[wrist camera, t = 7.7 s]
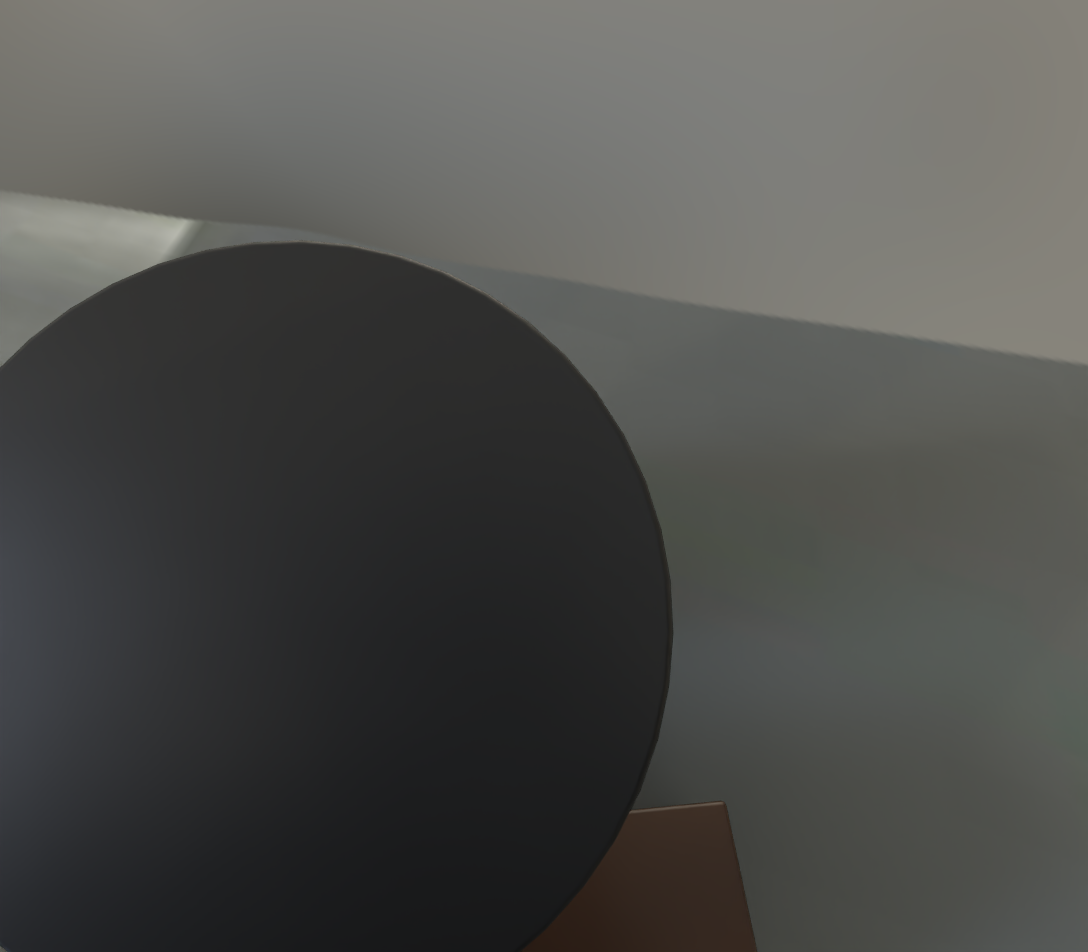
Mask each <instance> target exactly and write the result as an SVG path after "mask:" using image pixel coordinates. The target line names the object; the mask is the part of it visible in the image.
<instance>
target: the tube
mask: <svg viewBox="0 0 1088 952" xmlns="http://www.w3.org/2000/svg"><path fill="white" fill-rule="evenodd" d="M672 643H673V619H672V599H671V580H670V575H669V569H668V564H667V558H666V553H665V548H664V542H663V537H662V531H661V527H660V524H659V521H658V518H657V515H656V512H655V509H654V505H653V502H652V499H651V496H650V493H649V490H648V487H647V484H646V481H645V478H644V476H643V474H642V472H641V470H640V468H639V466H638V464H637V461H636V459H635V457H634V455H633V453H632V451H631V449H630V447H629V444H628V442H627V440H626V438H625V436H624V434H623V432H622V431H621V429H620V428H619V426H618V425H617V423H616V422H615V420H614V419H613V417H612V415H611V414H610V412H609V411H608V409H607V408H606V406H605V405H604V403H603V401H602V400H601V398H600V397H599V395H598V394H597V392H596V391H595V390H594V389H593V387H592V386H591V385H590V384H589V383H588V382H587V380H586V379H585V378H584V377H583V376H582V374H581V373H580V372H579V371H578V370H577V369H576V367H575V366H574V365H573V364H572V363H571V361H570V360H569V359H568V358H567V357H566V356H565V355H564V354H563V353H562V352H561V351H560V350H559V349H558V348H557V347H556V346H555V345H553V344H552V343H551V342H550V341H549V340H548V339H547V338H546V337H545V336H544V335H542V334H541V333H540V332H539V331H538V330H537V329H536V328H535V327H534V326H533V325H531V324H530V323H529V322H528V321H527V320H525V319H524V318H522V317H521V316H519V315H518V314H516V313H515V312H514V311H512V310H511V309H509V308H508V307H506V306H505V305H503V304H502V303H501V302H499V301H498V300H496V299H495V298H493V297H492V296H491V295H489V294H487V293H485V292H483V291H481V290H479V289H478V288H476V287H474V286H472V285H470V284H468V283H466V282H464V281H462V280H460V279H458V278H456V277H454V276H452V275H450V274H448V273H447V272H444V271H441V270H439V269H436V268H433V267H430V266H427V265H425V264H422V263H419V262H416V261H414V260H411V259H408V258H405V257H403V256H399V255H395V254H390V253H386V252H381V251H377V250H372V249H368V248H363V247H359V246H354V245H347V244H336V243H325V242H314V241H303V240H302V241H275V242H252V243H246V244H240V245H234V246H228V247H222V248H216V249H209V250H204V251H201V252H197V253H194V254H191V255H187V256H184V257H180V258H177V259H174V260H170V261H167V262H163V263H160V264H157V265H155V266H152V267H150V268H148V269H146V270H143V271H141V272H139V273H136V274H134V275H132V276H129V277H127V278H125V279H122V280H120V281H118V282H115V283H113V284H111V285H110V286H108V287H106V288H104V289H103V290H101V291H99V292H98V293H96V294H94V295H92V296H91V297H89V298H87V299H86V300H84V301H82V302H81V303H79V304H77V305H75V306H74V307H72V308H70V309H69V310H67V311H66V312H65V313H63V314H62V315H61V316H60V317H58V318H57V319H56V320H54V321H53V322H52V323H50V324H49V325H48V326H46V327H45V328H44V329H42V330H41V331H40V332H38V333H37V334H36V335H35V336H33V337H32V338H31V339H29V340H28V341H27V342H26V343H25V344H24V345H23V346H22V347H21V348H20V349H19V350H18V351H17V352H16V353H15V354H14V355H13V356H12V357H11V358H10V359H9V360H8V361H7V362H6V363H5V364H4V365H2V366H1V367H0V946H2V947H3V948H4V949H5V950H6V951H8V952H521V951H522V950H523V949H524V948H525V947H527V946H528V945H529V944H530V943H531V942H532V941H533V940H535V939H536V938H537V937H538V936H539V935H540V934H542V933H543V932H544V931H545V930H546V929H547V928H548V927H549V926H550V925H551V923H552V922H553V921H554V920H555V919H556V918H557V917H558V916H559V914H560V913H561V912H562V911H563V910H564V909H565V908H566V906H567V905H568V904H569V903H570V902H571V901H572V900H573V899H574V897H575V896H576V895H577V894H578V893H579V892H580V891H581V889H582V888H583V887H584V886H585V885H586V883H587V882H588V880H589V879H590V877H591V876H592V874H593V873H594V871H595V870H596V868H597V867H598V865H599V864H600V862H601V861H602V859H603V858H604V856H605V855H606V853H607V852H608V851H609V849H610V848H611V846H612V845H613V843H614V842H615V840H616V838H617V836H618V834H619V832H620V830H621V828H622V826H623V824H624V822H625V820H626V818H627V816H628V814H629V812H630V810H631V808H632V806H633V804H634V802H635V800H636V798H637V796H638V794H639V792H640V790H641V787H642V784H643V781H644V778H645V775H646V773H647V770H648V767H649V764H650V761H651V758H652V755H653V752H654V750H655V747H656V744H657V741H658V737H659V733H660V728H661V723H662V718H663V713H664V708H665V704H666V699H667V694H668V689H669V682H670V669H671V656H672Z"/></svg>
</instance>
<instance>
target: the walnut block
mask: <svg viewBox="0 0 1088 952" xmlns="http://www.w3.org/2000/svg"><path fill="white" fill-rule="evenodd" d="M521 952H757V948H756V943H755V938H754V934H753V929H752V924H751V919H750V915H749V910H748V905H747V901H746V896H745V891H744V886H743V882H742V877H741V872H740V868H739V863H738V858H737V853H736V849H735V844H734V839H733V834H732V830H731V825H730V820H729V816H728V811H727V806H726V804H725V802H723V801H714V802H704V803H694V804H684V805H674V806H664V807H654V808H644V809H634V810H630V812H629V814H628V816H627V818H626V820H625V822H624V824H623V826H622V828H621V830H620V832H619V834H618V836H617V838H616V840H615V842H614V843H613V845H612V846H611V848H610V849H609V851H608V852H607V853H606V855H605V856H604V858H603V859H602V861H601V862H600V864H599V865H598V867H597V868H596V870H595V871H594V873H593V874H592V876H591V877H590V879H589V880H588V882H587V883H586V885H585V886H584V887H583V888H582V889H581V891H580V892H579V893H578V894H577V895H576V896H575V897H574V899H573V900H572V901H571V902H570V903H569V904H568V905H567V906H566V908H565V909H564V910H563V911H562V912H561V913H560V914H559V916H558V917H557V918H556V919H555V920H554V921H553V922H552V923H551V925H550V926H549V927H548V928H547V929H546V930H545V931H544V932H543V933H542V934H540V935H539V936H538V937H537V938H536V939H535V940H533V941H532V942H531V943H530V944H529V945H528V946H527V947H525V948H524V949H523V950H522V951H521Z"/></svg>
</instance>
